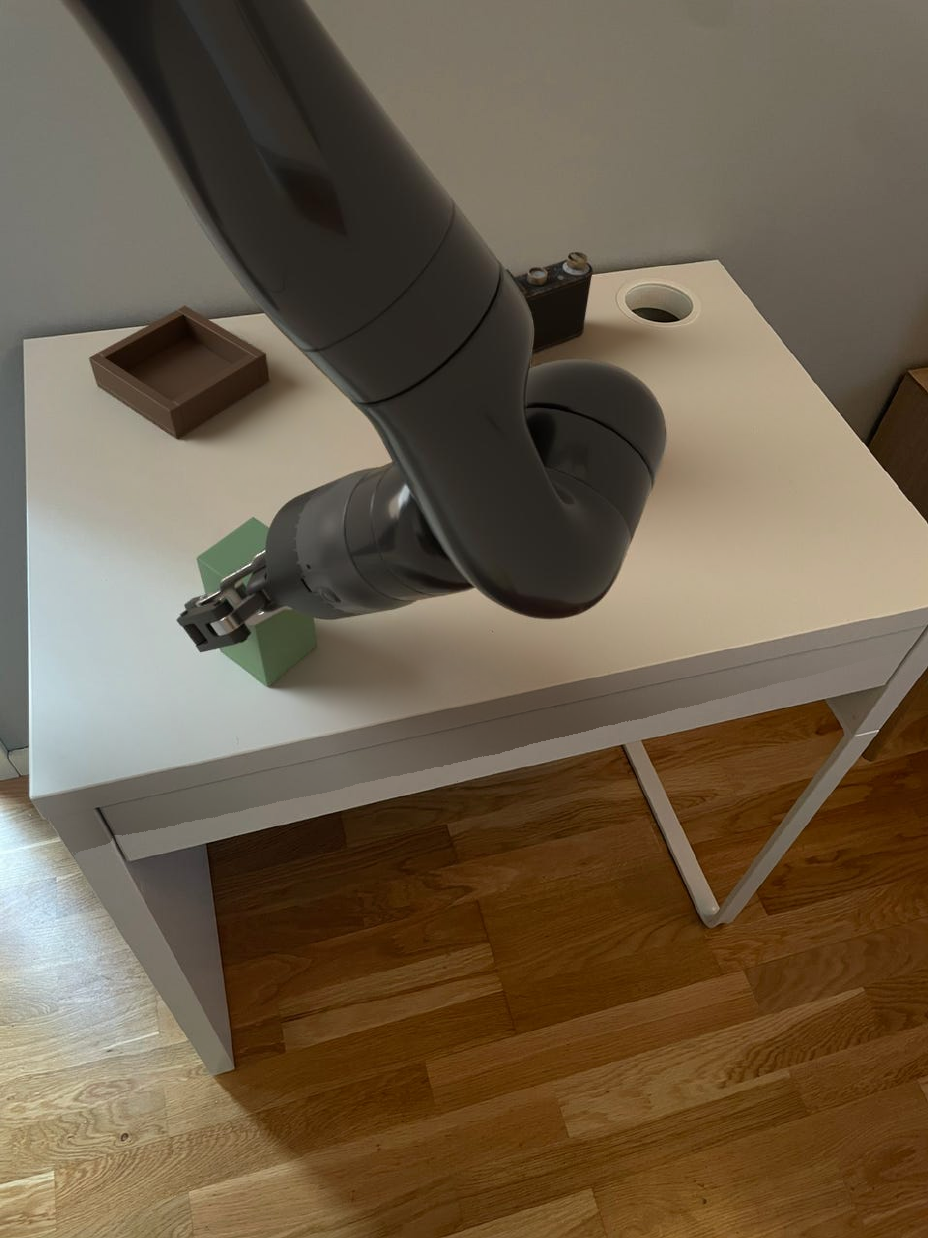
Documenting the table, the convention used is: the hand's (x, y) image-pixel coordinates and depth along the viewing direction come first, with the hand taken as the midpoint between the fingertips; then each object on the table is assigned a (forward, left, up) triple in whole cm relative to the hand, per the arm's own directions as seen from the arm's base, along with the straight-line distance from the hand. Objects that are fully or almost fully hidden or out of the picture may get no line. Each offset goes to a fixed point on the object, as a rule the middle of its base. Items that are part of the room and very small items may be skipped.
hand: (244, 578), depth 66 cm
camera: (+41, +9, -7) cm, 43 cm away
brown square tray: (+16, +27, -7) cm, 32 cm away
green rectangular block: (0, -1, -7) cm, 7 cm away
